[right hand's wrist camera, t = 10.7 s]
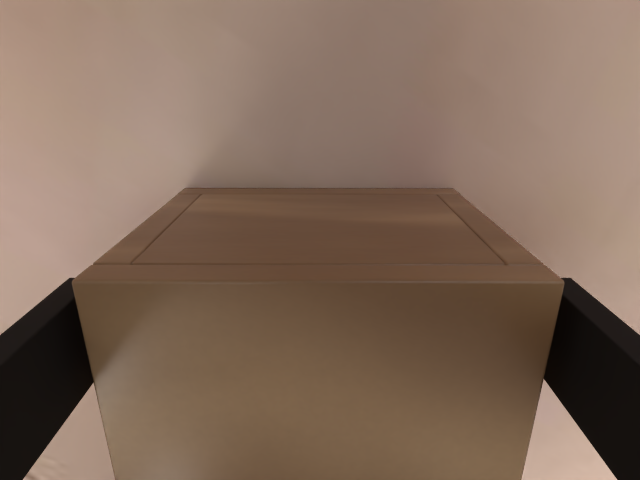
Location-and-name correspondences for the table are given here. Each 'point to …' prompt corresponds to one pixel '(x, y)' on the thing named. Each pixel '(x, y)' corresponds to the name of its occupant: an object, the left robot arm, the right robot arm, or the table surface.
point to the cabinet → (318, 338)
